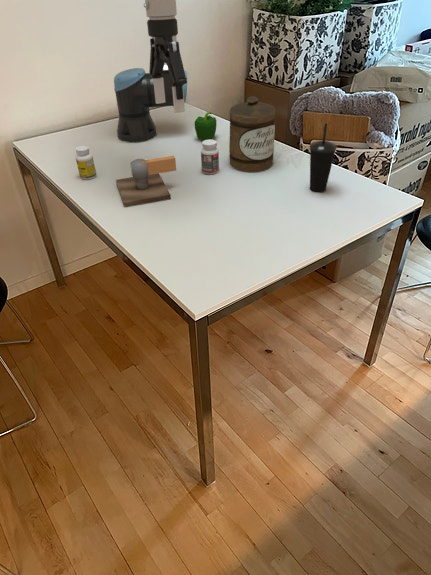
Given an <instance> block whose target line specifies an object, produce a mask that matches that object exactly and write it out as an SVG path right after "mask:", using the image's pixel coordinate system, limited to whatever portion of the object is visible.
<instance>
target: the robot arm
mask: <svg viewBox="0 0 431 575" xmlns="http://www.w3.org/2000/svg"><path fill="white" fill-rule="evenodd" d="M144 2H145V3H143V7H144V8H145V12H146V17H147V18H149V19H147V21H146V25H147V32H148V33H147V34H148V37H150V40H149V44H150V51H149V53H150V54H149V71H148V72H146V70H145V69H144V68H142V67H136V68H135V67H134V68H129V69H125V70H123V71H120V72H118V73H116V75H114V78H113V85H114V86H113V89H114V93H115V98H116V105H117V110H118V122H117V129H116V133H117V134H116V135H117V138H118V140H120V141H122V142H126V143H142V142H147V141H150V140H152V139H154V138H156V136H157V135H158V133H157V127H156V125H155V123H154V120H153V118H152V116H151V112H150V108H158V107H159V108H160V107H163V108H164V107H173V112H174V114H179V113H184V112H186V109H185V104H186V101H187V97H188V96H187V94H188V71H186V70H185V68H184V64H183V60H182V59H183V58H182V55H181V52H180V43H179V41H178V40H177V36H178V33H179V30H178V20H177V18H176V16H177V15H178V13H177V10H178V9H177V0H144Z"/></svg>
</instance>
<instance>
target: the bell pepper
mask: <svg viewBox="0 0 431 575" xmlns="http://www.w3.org/2000/svg"><path fill="white" fill-rule="evenodd" d="M212 113H213V112H212V111H210V110H209V111H207V112H206V113H205V115H204V117H203V116H197V117H196V118H195V120H194V131H195V133H196V137H197V139H198V140H199V141H202V142H203V141H205V140H209V139H211V140H214V138H215V135H216V132H217V119H216V117H213V116H211V115H212Z"/></svg>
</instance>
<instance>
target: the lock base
mask: <svg viewBox="0 0 431 575" xmlns="http://www.w3.org/2000/svg"><path fill="white" fill-rule="evenodd" d="M115 183H116V186H117V189H118V192H119V195H120V197H121V202H122V203H123V204H122V205H123V206H124V208H128V207H133V206H139V205H140V206H141V205H145V204H150V203H151V204H152V203H156V202H162V201H167V200H171V198H172V197H171V196H172V195H171V193H170V191H169V189H168V187H167V185H166V184H165V181H164V180H163V178H162V176H161V173H158V174H152V175H148V176H147V177H145V178H141V179H138V178H134V177H133V176H131V177H124V178H117V179H115Z"/></svg>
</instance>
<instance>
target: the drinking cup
mask: <svg viewBox="0 0 431 575" xmlns="http://www.w3.org/2000/svg"><path fill="white" fill-rule="evenodd" d="M327 128H328V123H324V127H323V134H322V135H323V136H322V139H321V140H316V141H313V142H311V143H310V145H309V149H310V153H309V154H310V155H309V156H310V157H309V158H310V160H309V163H310V164H309V189H310V191H311V192H313V193H318V194H319V193H324V192H326V190H327V185H328V183H329V178H330V174H331V168H332V165H333V160H334V157H335V152H336V150H337V149H338V148H337V147H338V146H337V144H335V143H334V142H331V141H330V140H329V141H328V140H326V136H327Z"/></svg>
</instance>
